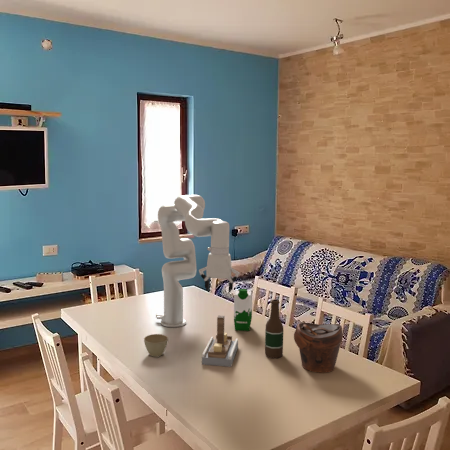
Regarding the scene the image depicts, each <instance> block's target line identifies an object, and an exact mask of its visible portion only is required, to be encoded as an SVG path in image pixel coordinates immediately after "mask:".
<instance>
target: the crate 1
mask: <svg viewBox="0 0 450 450" xmlns="http://www.w3.org/2000/svg"><path fill="white" fill-rule="evenodd" d="M214 352H222V344H218V343H215V344H214Z"/></svg>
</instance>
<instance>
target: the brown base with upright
mask: <svg viewBox="0 0 450 450" xmlns="http://www.w3.org/2000/svg"><path fill="white" fill-rule="evenodd" d="M216 324H217V325H216V336H215V338H214V339H215V341H214V343H213V345H212V347H211V349H210V351H208V357H214V358H225V357H226V355H227V352H228V350H229V347H230V345H231V342H232V341H233V336H232V335H227V340H226V342H224V333H225V315H217V317H216ZM215 343H218V344H222V352H214V344H215Z"/></svg>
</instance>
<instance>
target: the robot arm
mask: <svg viewBox="0 0 450 450" xmlns="http://www.w3.org/2000/svg"><path fill="white" fill-rule="evenodd" d="M205 208H206V202H205V199H204V198H203V196H201V195H198V194H191V195H190V194H185V195H180V196H177V198H175V199H174V202H173V204H171V203H170V204H164V205H162V206H160V207H159V208H158V212H157V221H158V225H159V226H160V230H161V231H160V232H161V238H162V239H161V240H162V241H161V242H162V251H163V256H164V257H165V258H166V259H168V260H169V259H182V260H173V261H168V262H165V263H164V264H163V265H162V267H161V276H162V280H163V313H162V314H161V313H156V314H155V318H156V320H160V325H161V326H163V327H167V328H180V327H184V326H185V325H186V324H187V320H186V319H185V318H184V288H183V286H182V285H181V284H180V281H181V280H189V279H193V278H194V277H196V275H197V258H196V257H197V256H196V247H195V244H194V242H193V240H192V239H190V238H188V237H187V238H186V237H185V238H180V229H179V228H178V226H177V224H175V223H174V222H184V224H185V228H186V230H187V231H188V233H190V234H191V235H192V236H194V237H197V238H201V237H210V246H209V247H208V246H207V251H209V253H208V255H207V261H206V262H207V263H206V266H205V267H202V268H200V269H198V273H199V275H200V277H201V278H202V279H203V281H204V289H205V291H209V289H210V279H221V280H228V281H229V282H228V292H229V293H231V292H232V291H233V289H234V282H235V281H236V280H237V279H238V277H239V276H240V273H241V272H239V271H238V270H236V269H235V268H233V267H232V258H231V254H230V251H229V250H230V223H229V222H227V221H225V220H222V219H220V218H218V217H217V218H215V217H212V218H210V217H209V218H208V217H207V218H203V217H204V211H205ZM204 272H206V274H205V273H204ZM232 273H233V274H234V276H232Z"/></svg>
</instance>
